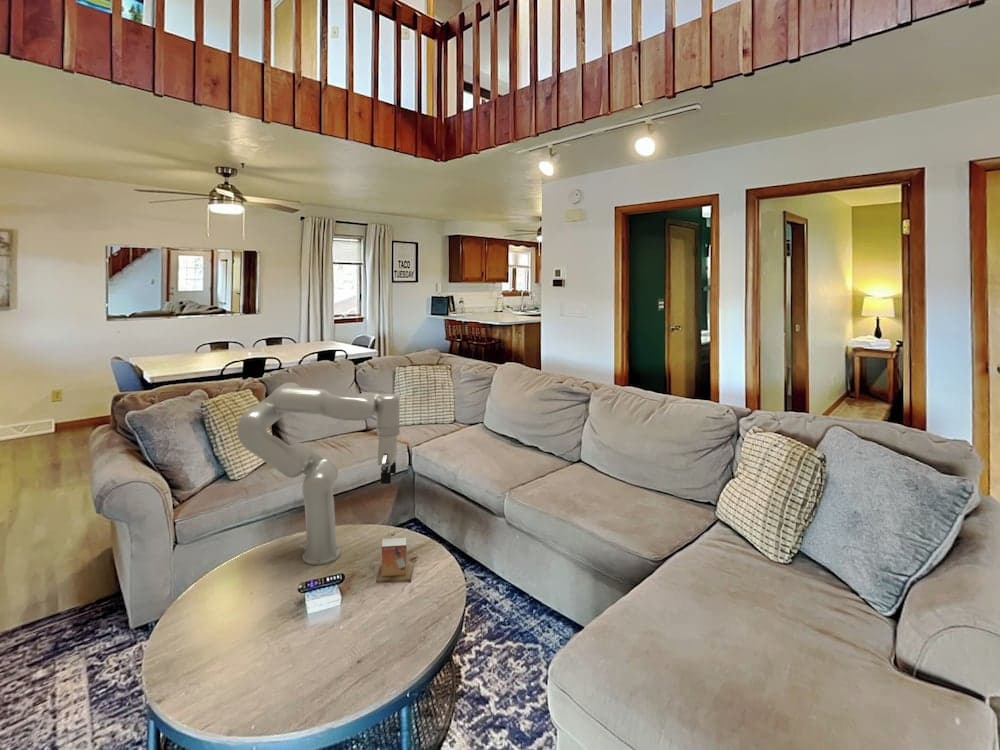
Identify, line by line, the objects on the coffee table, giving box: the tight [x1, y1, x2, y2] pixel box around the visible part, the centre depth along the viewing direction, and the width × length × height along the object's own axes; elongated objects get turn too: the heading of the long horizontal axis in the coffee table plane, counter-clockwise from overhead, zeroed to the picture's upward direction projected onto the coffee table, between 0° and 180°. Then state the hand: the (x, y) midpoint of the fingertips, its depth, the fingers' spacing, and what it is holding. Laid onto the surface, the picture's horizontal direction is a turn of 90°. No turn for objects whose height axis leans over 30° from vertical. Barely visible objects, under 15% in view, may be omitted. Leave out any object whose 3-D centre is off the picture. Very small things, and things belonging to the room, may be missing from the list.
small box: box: [381, 537, 408, 577], centre depth 172 cm, size 8×6×10 cm
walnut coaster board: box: [375, 564, 415, 584], centre depth 173 cm, size 11×9×1 cm
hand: (388, 478), depth 182 cm, fingers open, 9 cm apart
